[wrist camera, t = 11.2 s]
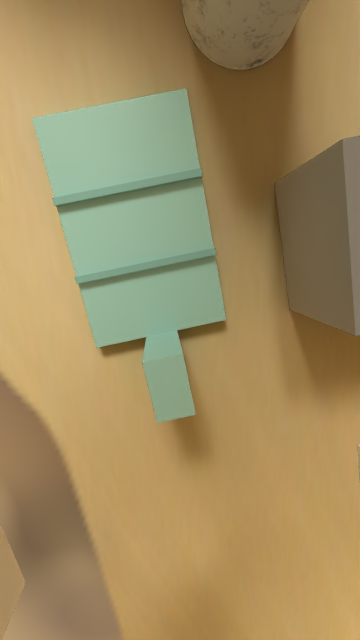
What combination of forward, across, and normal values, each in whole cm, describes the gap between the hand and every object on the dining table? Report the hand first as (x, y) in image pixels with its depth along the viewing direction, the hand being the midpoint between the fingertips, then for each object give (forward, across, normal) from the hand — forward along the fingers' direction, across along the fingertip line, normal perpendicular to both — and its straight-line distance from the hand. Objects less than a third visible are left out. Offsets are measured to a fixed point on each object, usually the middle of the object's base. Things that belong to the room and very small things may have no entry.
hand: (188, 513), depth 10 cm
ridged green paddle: (+19, 0, +9) cm, 21 cm away
